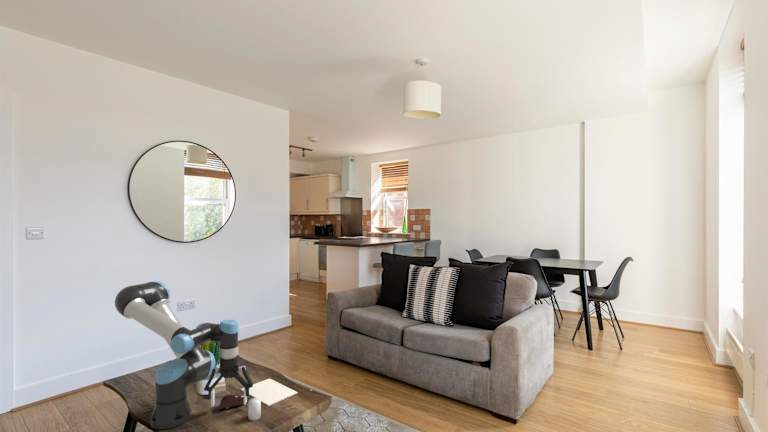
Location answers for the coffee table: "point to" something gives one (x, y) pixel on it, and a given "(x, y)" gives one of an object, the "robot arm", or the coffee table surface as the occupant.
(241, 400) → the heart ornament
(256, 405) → the white cylinder
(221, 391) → the beech block
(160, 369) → the robot arm
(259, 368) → the coffee table surface
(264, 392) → the cream mat
